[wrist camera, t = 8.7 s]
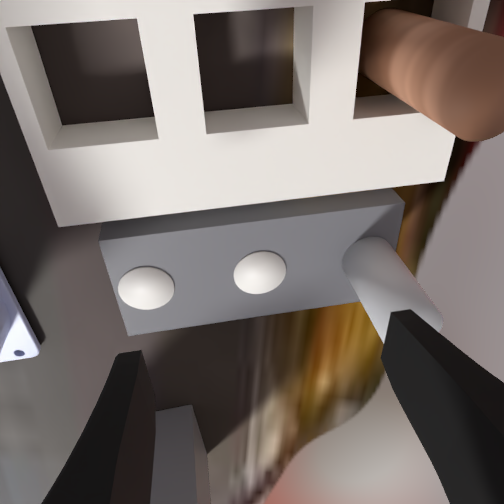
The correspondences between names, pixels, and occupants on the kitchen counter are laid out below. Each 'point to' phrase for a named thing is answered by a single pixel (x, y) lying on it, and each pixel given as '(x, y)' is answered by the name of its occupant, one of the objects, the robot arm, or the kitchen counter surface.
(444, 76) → the terracotta pin
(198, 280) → the studded grey block
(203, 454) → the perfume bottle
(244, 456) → the kitchen counter surface
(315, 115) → the peg board
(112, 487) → the robot arm
